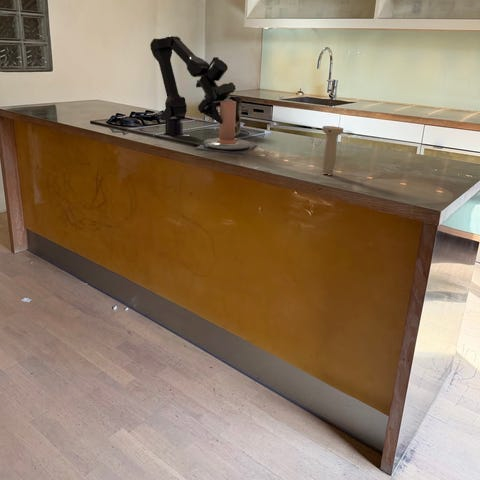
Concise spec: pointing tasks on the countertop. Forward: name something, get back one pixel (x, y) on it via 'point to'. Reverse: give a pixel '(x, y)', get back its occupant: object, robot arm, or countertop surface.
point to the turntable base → (242, 151)
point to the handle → (330, 148)
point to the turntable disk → (237, 146)
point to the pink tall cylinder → (227, 122)
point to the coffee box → (237, 124)
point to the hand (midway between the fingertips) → (230, 122)
